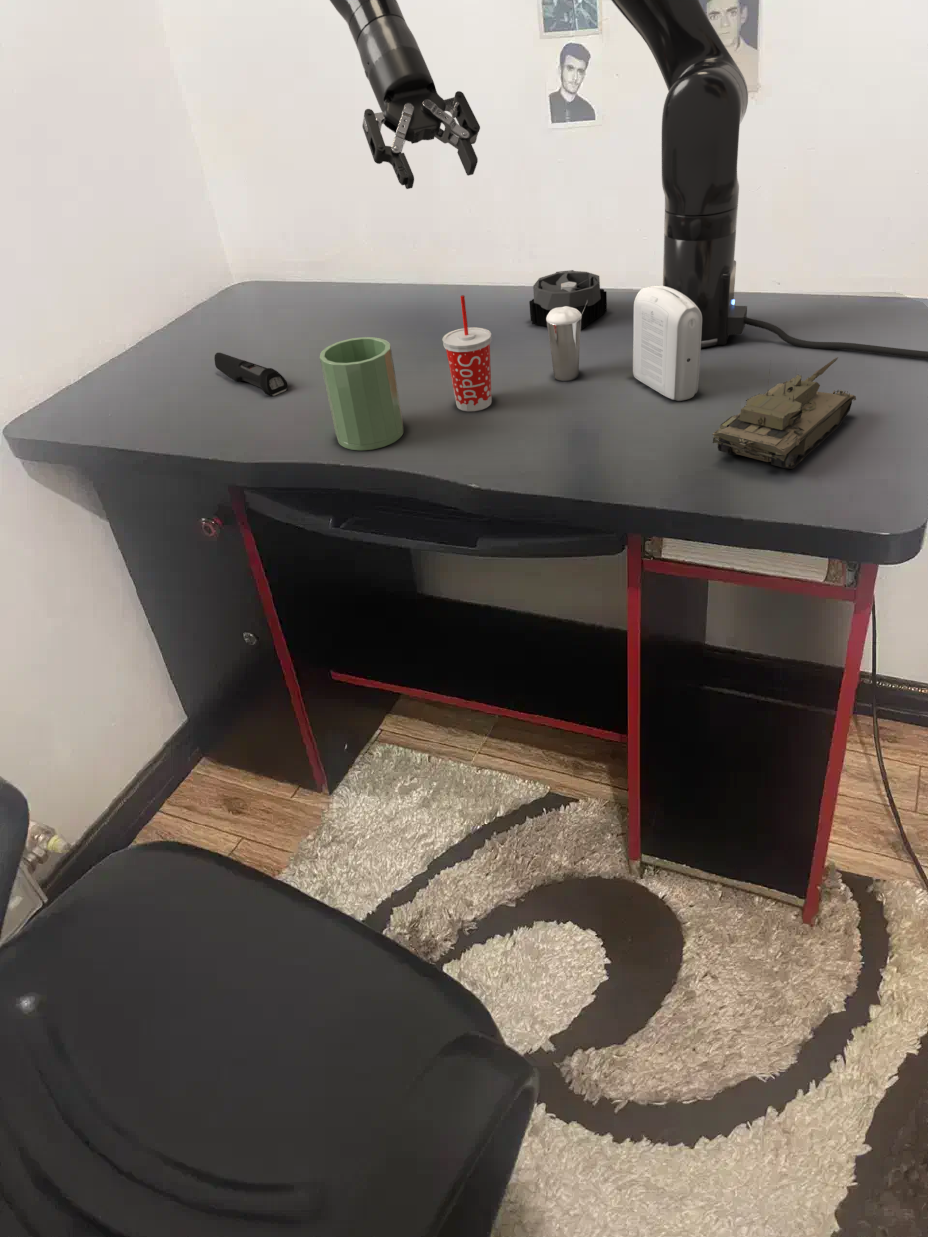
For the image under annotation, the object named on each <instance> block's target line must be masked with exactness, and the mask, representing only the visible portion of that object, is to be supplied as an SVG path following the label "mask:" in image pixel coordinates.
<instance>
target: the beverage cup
mask: <svg viewBox="0 0 928 1237" xmlns="http://www.w3.org/2000/svg"><path fill="white" fill-rule="evenodd" d="M459 297H460V304H461V313H462V314H461V315H462V324H463V328H457V329H455V330H452V331H451V330H450V331H449V332H447V333H446V334H444V335H443V337H442V339H441V340H442V343H443V347H444V349H445V352H446V356H447V363H448V368H449V373H450V378H451V383H452V389H453V394H454V399H455V404H456V408H457V409H458V410H460V411H463V412H479V411H482V410H486V409H487V408H489V407H490V406H491V405H492V402H493V399H492V398H493V397H492V368H491V367H492V366H491V342H492V333H491V331H490V330H488V329H486V328H485V327H476V326H475V327H469V326H468V316H467V307H466V298H465V295H464V294H463V295H462V294H461V295H460V296H459Z"/></svg>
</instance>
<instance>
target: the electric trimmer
mask: <svg viewBox="0 0 928 1237" xmlns="http://www.w3.org/2000/svg"><path fill="white" fill-rule="evenodd" d="M213 358H214V366H215V369H217V370H218V371H220V372H221V373H223V374H224V375H225V376H228V378H230V379H232V380H234V381H236V382H247V383H249V384H251V385H254V386H256V387H258V388H261V389H262V391H263V392H264V394H265V395H267V396H272V397H273V396H277V395H281V393H284V392H286V391H287V389H288V387H289V383H288V382H287V380H286V378H285V377H284V376H283V375H282V374H281V373H279V372H278V371H277V370H276V369H274V368H272V367H266V366H263V365H260V364H257V363H253V362H250V361H247V360H244V359H241V358H238V357H235V356H231V355H229V354H227V353H223V352H216V353H215V354H214V357H213Z"/></svg>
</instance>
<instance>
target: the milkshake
mask: <svg viewBox="0 0 928 1237" xmlns="http://www.w3.org/2000/svg"><path fill="white" fill-rule="evenodd" d="M587 301H588V300H587ZM586 304H587V302H586ZM585 306H586V305H585ZM584 309H585V307H584ZM583 311H584V310H583ZM582 314H583V312H582ZM581 317H582V315H581V313H580V312H579V311H578V310H577V309H575V308H572V307H568V306H564V307H558V308H554V309H552V310H551V311H550V312H549V313H548V315H547V317H546V321H547V326H546V328H547V333H548V334H547V335H548V341H549V347H550V348H549V349H550V355H551V363H552V373H553V376H554V379H555V380H557V381H560V382H567V381H568V382H570V381H572V380H575V379H577V378H578V377H579V375H580V374H579V373H580V370H579V369H580V352H581V351H580V350H581V332H582V331H581V330H582V328H581Z"/></svg>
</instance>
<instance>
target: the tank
mask: <svg viewBox="0 0 928 1237" xmlns="http://www.w3.org/2000/svg"><path fill="white" fill-rule="evenodd" d="M838 359H839V357H838V356H837V357H834V358H833V359H832V360H831V361H829V362H828V363H826V364H825V365H824V366H823V367H821V368H820V369H817V370H816V371H814V372H813V373H812V375H810V376H808V377H807V378H806V379H804V380H802V374H797V373H796V375H795V377H792V378H791V379H789V380H786V381H784V382H780V383H779V382H778V383H776V384H774V386H772V387H771V388H770V389H767V391H766V392H764V394H763V393H758V394H757V395H756V394H755V395H754V396H751V397H749V398H747V399H746V400H745V405H744V406H743V407H742V408H741V409H740V412H738V413H737V414H736V415H735V414H734V415H732V416H730V417H729V418H727V419H726V420H724V422H722V423H721V424H720V425H719V427H718V429H717V430H715V431H714V432H713V433H711V435H712V436H713V437H712V438H713V439H712V444H717V451H718V452H721V453H724V454H730V455H734V456H735V455H736V456H743V457H747V458H750V459H754V460H758V461H762V462H766V463H770V465H772V466H775V467H780V468H783V469H791V470H793V469H795V467H797V465H799V464H800V463H802V461H803V460H804V459H806V457H808V456H809V455H810V454H811V453H812V452H814V450H815V449H816V448H818V447H819V446H820V445H821V444H822V443H823V442H824V441H825V440H826V439H827V438H829V437H830V436H831V435H832V434H833V433H834V432H835V431H837V430H838V428H839V427H841V425H842V424H843V422H844V420H845V419H846V417H847V415H848V414H849V412H850V410H851V408H852V404H853V402H854V401H857V396H856V395H855V394H851V393H848V390H846V391H844V390H842V389H837V390H833V391H832V392H822V391H819V389H820V386H821V384H820V383H818V382H817V381H815V380H816V379H817V378H818V377H820V376H821V375H823V374H824V373H825V372H826V371H827V370H828V369H829V368H830V367H831V366H832V365H833V364H834V363H835V362H836V361H837V360H838ZM770 364H771V361H770ZM795 371H797V368H796V370H795ZM770 372H771V370H769V372H768V374H769V375H770ZM769 384H770V380H768V381H767V385H769Z"/></svg>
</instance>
